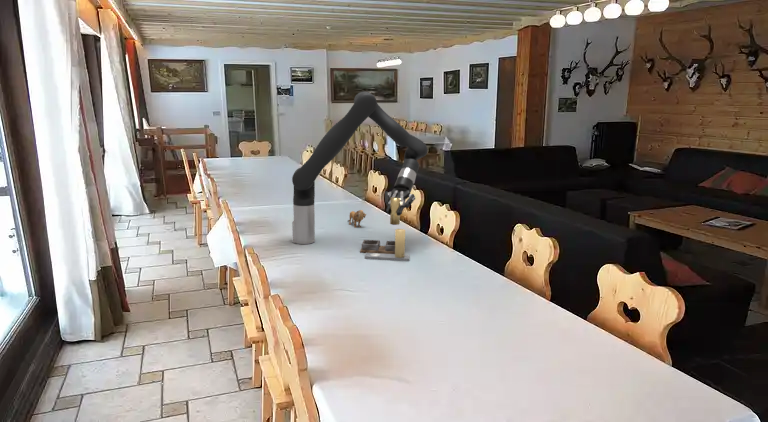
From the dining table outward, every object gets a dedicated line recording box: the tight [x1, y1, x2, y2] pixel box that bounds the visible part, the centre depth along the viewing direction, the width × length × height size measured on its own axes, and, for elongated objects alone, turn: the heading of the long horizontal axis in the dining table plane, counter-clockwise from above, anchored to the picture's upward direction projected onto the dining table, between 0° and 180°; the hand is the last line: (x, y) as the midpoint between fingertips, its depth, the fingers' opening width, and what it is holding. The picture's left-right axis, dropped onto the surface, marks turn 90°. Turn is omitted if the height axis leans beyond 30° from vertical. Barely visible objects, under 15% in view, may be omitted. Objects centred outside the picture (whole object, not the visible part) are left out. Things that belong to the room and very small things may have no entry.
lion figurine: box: [347, 209, 367, 229], centre depth 256 cm, size 15×5×9 cm, turn 36°
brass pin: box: [389, 196, 401, 226], centre depth 211 cm, size 4×4×11 cm
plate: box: [364, 228, 411, 262], centre depth 205 cm, size 18×5×12 cm, turn 84°
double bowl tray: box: [359, 239, 395, 254], centre depth 215 cm, size 18×8×4 cm, turn 84°
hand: (393, 213), depth 210 cm, fingers closed on brass pin, 4 cm apart
